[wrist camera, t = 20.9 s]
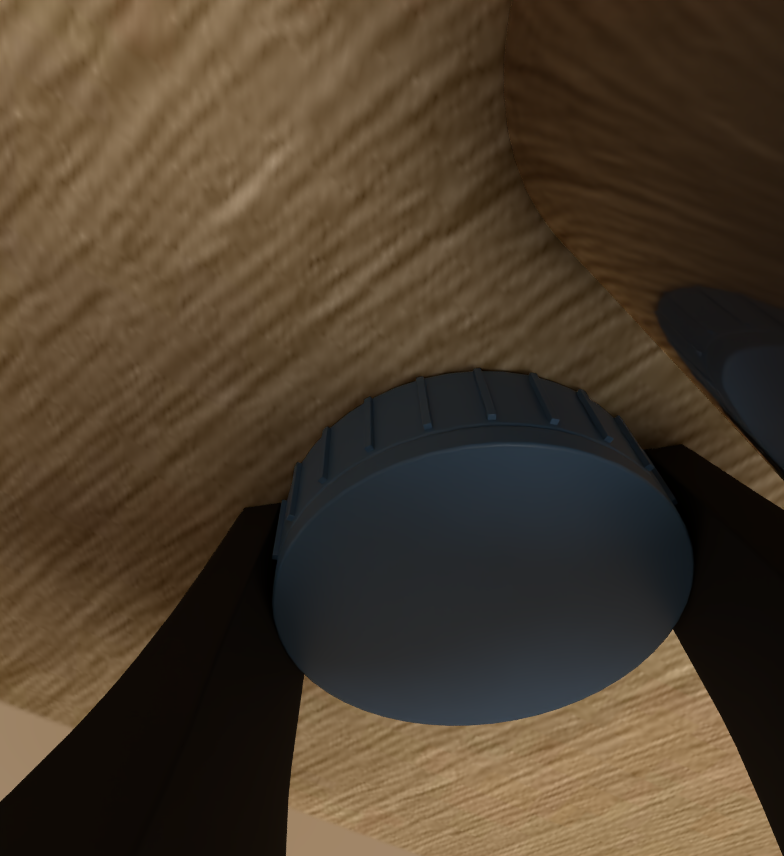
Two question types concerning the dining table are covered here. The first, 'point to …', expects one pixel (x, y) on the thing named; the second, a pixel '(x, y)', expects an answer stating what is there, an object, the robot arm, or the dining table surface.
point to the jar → (667, 177)
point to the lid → (476, 552)
